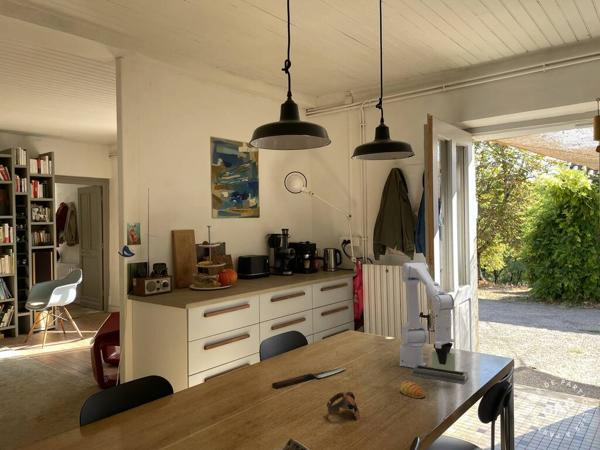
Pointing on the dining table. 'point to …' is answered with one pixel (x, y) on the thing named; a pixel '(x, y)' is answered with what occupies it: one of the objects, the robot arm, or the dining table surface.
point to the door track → (440, 374)
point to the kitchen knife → (304, 378)
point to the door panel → (449, 361)
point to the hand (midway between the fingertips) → (443, 363)
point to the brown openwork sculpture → (343, 403)
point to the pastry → (412, 389)
